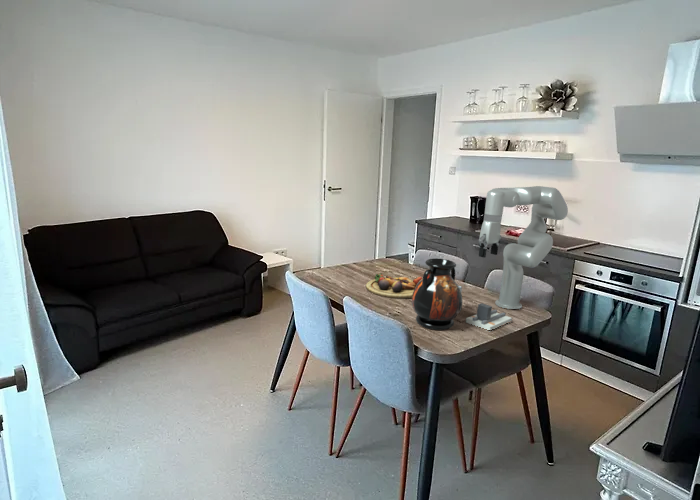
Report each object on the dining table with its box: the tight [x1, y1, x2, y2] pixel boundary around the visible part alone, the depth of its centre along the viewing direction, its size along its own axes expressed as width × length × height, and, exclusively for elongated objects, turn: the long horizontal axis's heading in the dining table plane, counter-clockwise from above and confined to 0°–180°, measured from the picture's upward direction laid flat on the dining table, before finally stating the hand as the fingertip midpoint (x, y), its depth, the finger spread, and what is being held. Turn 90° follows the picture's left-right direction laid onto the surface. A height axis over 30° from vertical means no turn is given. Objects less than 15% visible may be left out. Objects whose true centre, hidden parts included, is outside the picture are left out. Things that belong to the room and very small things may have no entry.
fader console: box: [465, 309, 513, 331], centre depth 192 cm, size 18×12×3 cm, turn 131°
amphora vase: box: [411, 258, 463, 331], centre depth 185 cm, size 22×22×28 cm
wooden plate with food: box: [365, 273, 423, 300], centre depth 231 cm, size 32×32×8 cm
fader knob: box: [476, 302, 493, 321], centre depth 188 cm, size 3×5×7 cm, turn 41°
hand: (487, 255), depth 195 cm, fingers open, 9 cm apart
